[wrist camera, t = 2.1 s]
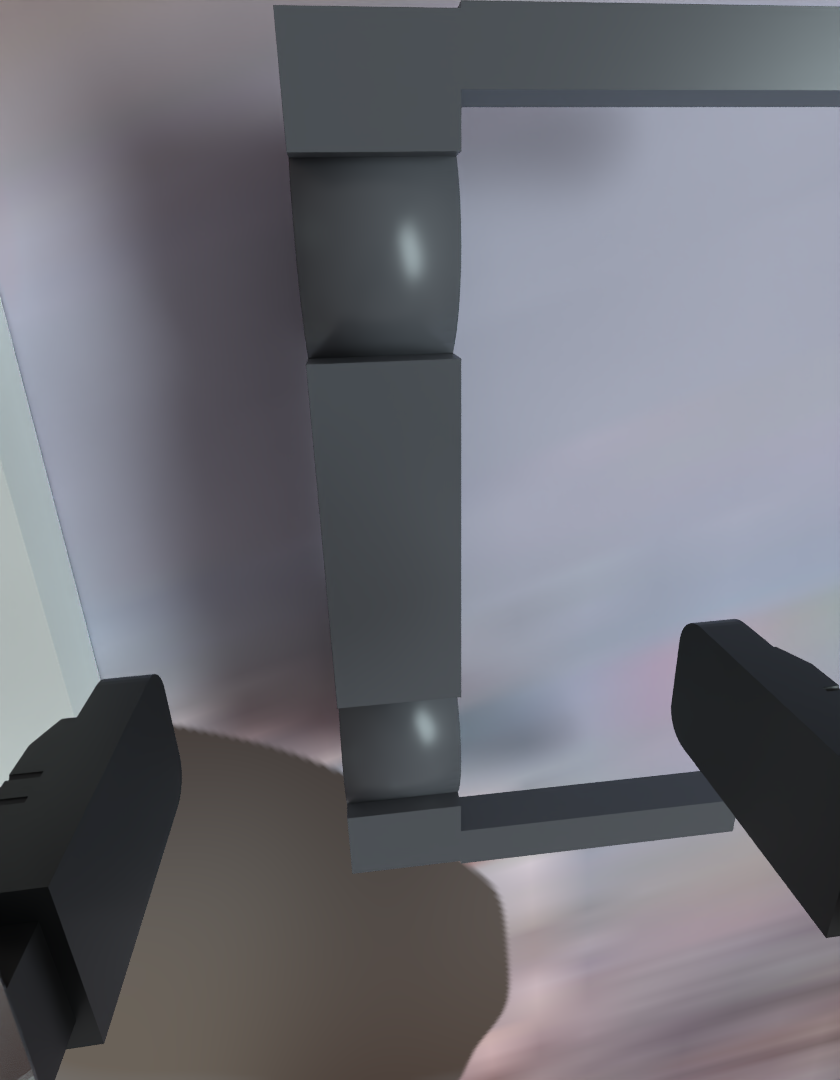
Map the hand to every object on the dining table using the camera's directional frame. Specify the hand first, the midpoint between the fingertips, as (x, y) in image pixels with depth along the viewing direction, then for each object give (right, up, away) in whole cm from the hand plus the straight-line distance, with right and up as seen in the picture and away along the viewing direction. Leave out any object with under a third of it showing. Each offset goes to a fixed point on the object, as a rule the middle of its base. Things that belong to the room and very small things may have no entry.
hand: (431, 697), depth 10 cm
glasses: (+3, +4, +9) cm, 10 cm away
